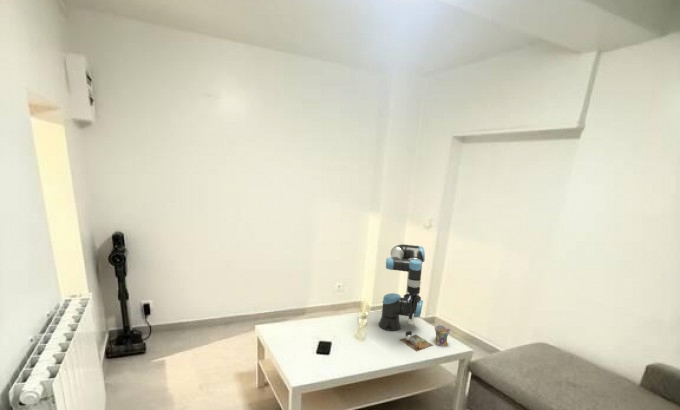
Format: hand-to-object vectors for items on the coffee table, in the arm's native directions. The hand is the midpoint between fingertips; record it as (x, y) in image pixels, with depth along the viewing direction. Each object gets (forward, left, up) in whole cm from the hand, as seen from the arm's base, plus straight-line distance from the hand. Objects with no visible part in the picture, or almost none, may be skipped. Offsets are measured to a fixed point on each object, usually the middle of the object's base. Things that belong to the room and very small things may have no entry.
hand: (410, 323), depth 195 cm
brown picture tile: (0, +6, -15) cm, 17 cm away
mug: (+6, +21, -15) cm, 27 cm away
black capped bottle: (0, +3, -14) cm, 14 cm away
